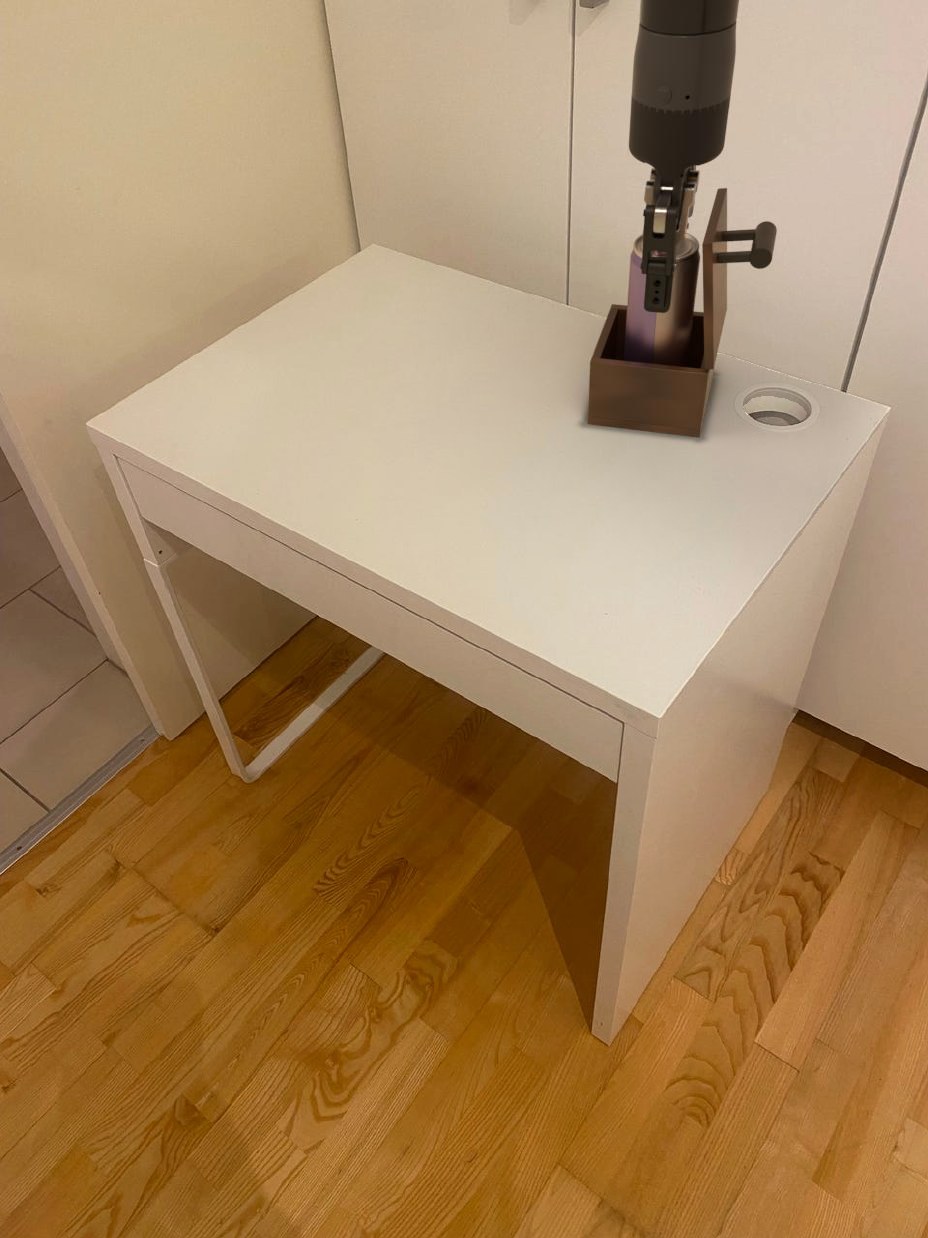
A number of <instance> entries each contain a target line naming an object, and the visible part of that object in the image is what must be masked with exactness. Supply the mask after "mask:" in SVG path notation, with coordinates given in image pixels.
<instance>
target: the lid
mask: <svg viewBox="0 0 928 1238" xmlns="http://www.w3.org/2000/svg"><path fill="white" fill-rule="evenodd" d="M711 209H712V210H711V212H710V216H709V219H708V222H707V226H706V230H705V233H704V237H703V241H702V245H701V246H702V248H701V249H702V250H701V251H702V294H703V295H702V298H703V300H702V305H703V307H702V308H703V309H702V310H703V312H704V366H705V369H714V370H715V365H716V361H717V356H718V353H719V352H718V351H719V347H720V343H721V337H722V333H723V329H724V326H725V325H724V324H725V320H726V316H727V311H728V264H736V263H738V264H739V263H740V264H741V263H750V265H751V266H752V267H753V268H754V269H757V270H763V269H765V268H767V267H769V266H770V265H771V263H772V261H773V256H774V250H775V244H776V239H777V233H778V232H777V231H778V229H777V226H776V224H775V223H774V222H772V221H767V220H766V221H761V222H760V223H758V225H756V227H755V228H751V229H736V230H735V229H734V230H728V188H727V187H723V188H722V187H721V188H717V191H716V194H715V197H714V201H713V205H712V208H711ZM744 241H752V242H751V247H750V250H741V251H740V250H739V251H728V242H744Z"/></svg>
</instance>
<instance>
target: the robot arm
mask: <svg viewBox="0 0 928 1238" xmlns="http://www.w3.org/2000/svg"><path fill="white" fill-rule="evenodd" d="M739 4H740V0H640V3H639V24H638V31H637V38H636V43H635V48H634V55H633V65H632V66H633V67H632V82H631V100H630V114H629V115H630V116H629V117H630V118H629V132H628V133H629V134H628V150H629V153H630V155H632V157H633V158H634V159H636V160H637V161H639V162H640V163H643V164H647V165H650V167H652V168H651V170H650V175H649V180H646V181H645V188H644V196H643V200H644V203H645V208H644V209H643V214H642V216H643V229H642V234H643V252H642V263H641V267H640V269H642V271H641V273H642V274H646V284H645V297H644V309H645V310H646V311H648V312H657V313H666V312H668V310H669V308H670V304H671V294H672V284H673V274H674V270H675V269H676V267H677V263H676V257H677V250H678V245H679V244H680V243H682V242H683V241H684V240H685V236H686V233H687V231H688V230H689V227H690V226H689V225H690V223H689V218H691V217H693V214H694V210H695V204H696V194H697V192H698V188H699V187H698V186H699V183H700V174H701V170H697V167H699V166H703V165H706V164H708V163H710V162H712V161H713V160H715V159H717V158H718V157H719V156H721V154H722V152H723V151H724V148H725V142H726V135H727V127H728V119H729V110H730V103H731V97H732V88H733V80H734V72H735V64H736V55H737V54H736V53H737V19H738V12H739V6H740V5H739ZM676 230H677V232H676ZM654 251H663V252H666V254H667V257H654V256H653V252H654Z"/></svg>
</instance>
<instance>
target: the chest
mask: <svg viewBox="0 0 928 1238" xmlns="http://www.w3.org/2000/svg"><path fill="white" fill-rule="evenodd" d="M626 318H627V304H615V303H614V304H613V303H612V304H611V306H610V308H609V311H608V313H607V316H606V319H605V322H604V324H603V327H602V329H601V332H600V335H599V337H598V340H597V343H596V345H595V348H594V350H593V352H592V353H593V354H592V356H591V359H590V361H589V378H588V379H589V383H588V406H587V408H588V409H587V410H588V411H587V424H588V425H593V426H602V427H603V426H604V427H611V428H618V429H626V430H627V429H628V430H634V431H635V430H636V431H644V432H653V433H662V434H669V435H670V434H671V435H678V436H685V437H686V436H687V437H693V438H700V437H701V433H702V428H703V423H704V420H705V414H706V410H707V405H708V401H709V397H710V392H711V387H712V383H713V378H714V373H715V368H714V369H705V366H704V311H694V314H693V322H692V330H691V339H690V347H689V355H688V364H687V367H679V366H669V365H659V364H649V363H640V362H630V361H624V349H625V333H626Z"/></svg>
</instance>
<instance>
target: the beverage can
mask: <svg viewBox="0 0 928 1238" xmlns="http://www.w3.org/2000/svg"><path fill="white" fill-rule="evenodd" d="M676 232H677V230H676ZM632 247H633V248H632V251H631V253H630V257H629V272H628V273H629V274H628V288H627V303H626V305H627V318H626V333H625V349H624V361H630V362H640V363H649V364H659V365H669V366H679V367H687V364H688V355H689V347H690V339H691V330H692V322H693V314H694V312H695V306H696V297H697V287H698V279H699V271H700V263H701V253H700V242H699V240H698V239H697V237H695V236H694V235H692V234H690V233H688V232H686V236H685V240H684V241H683V242H682V243H680V244H679V245H678V250H677V257H676V263H677V267H676V269H675V270H674V274H673V284H672V294H671V304H670V308H669V310H668V312H666V313H657V312H648V311H646V310H645V309H644V297H645V284H646V274H642V273H641V271H642V269H640V267H641V263H642V252H643V233H642V234H641V235H638V237H636V238H635V239H634V242H633V246H632ZM653 256H654V257H667V254H666V252H663V251H654V252H653Z"/></svg>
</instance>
